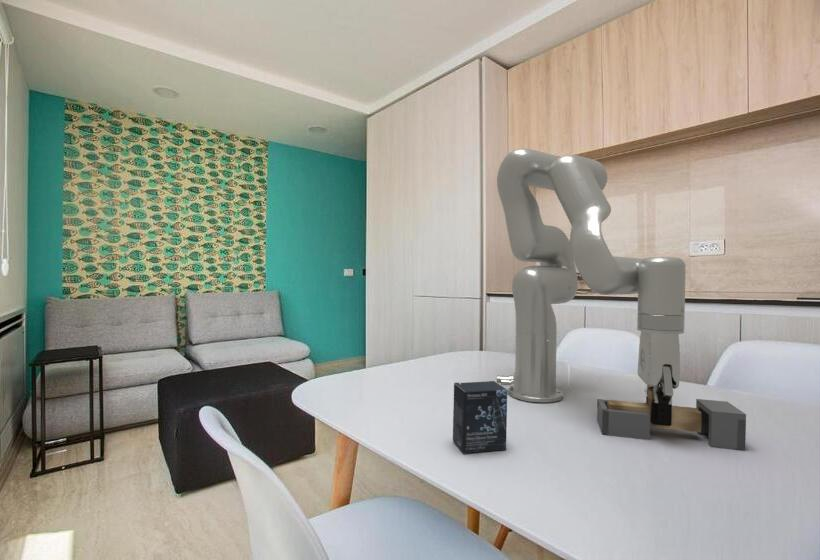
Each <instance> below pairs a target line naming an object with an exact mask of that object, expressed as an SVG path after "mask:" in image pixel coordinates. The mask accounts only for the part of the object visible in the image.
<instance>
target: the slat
mask: <svg viewBox="0 0 820 560" xmlns="http://www.w3.org/2000/svg"><path fill="white" fill-rule="evenodd" d="M660 391H662V390H658V393H659V392H660ZM646 396H647V403H646V402H636V401H626V400H625V401H623V400H617V399H616V400H614V399H606V400H607V409H613V410H624V411H634V412H645V413H649V414H650V428H656V429H658V428H659V429H666V430H676V431H684V432H695V433H697V432H701V412H700V411H699V410H697V409H696V407H689V406H681V405H679V406H678V405H672V423H671V426H663V425H654V424H652V423H651V402H653V388H648V393H646Z"/></svg>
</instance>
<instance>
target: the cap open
mask: <svg viewBox="0 0 820 560" xmlns="http://www.w3.org/2000/svg"><path fill="white" fill-rule="evenodd" d="M607 400H608V399H602V398H597V405H596V406H597V411H596V412H597V413H596V421H597V425H598V426H599V429H601V430H600V432H601V434H602V435H603V436H614V437H623V438H630V439H631V438H632V439H640V440H648V441H649V440H650V438H651V437H650V435H651V427H650V414H649V413H645V412H634V411H624V410H613V409H607Z"/></svg>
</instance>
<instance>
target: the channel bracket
mask: <svg viewBox="0 0 820 560" xmlns="http://www.w3.org/2000/svg"><path fill="white" fill-rule="evenodd" d="M695 400H696V401H695V402H696V404H695V408H696V409H697V410H699V411H700V412H701V432H696V433H697V434H700V435H708V440H707V441H708V442H707V444H708V445H709V446H710V447H712V448H720V449H729V450H736V451H737V450H739V451H746V440H747V439H746V436H747V435H746V434H747V431H746V430H747V414H746V413H745V412H744V411H742V410H741V409H740V408H738V407H736V406H734V405H733V404H731V403H730V402H729V401H727V400H726V401H725V400H714V399H701V398H696V399H695Z"/></svg>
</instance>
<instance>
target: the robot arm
mask: <svg viewBox="0 0 820 560" xmlns="http://www.w3.org/2000/svg"><path fill="white" fill-rule="evenodd" d="M607 183H608V173H607V170H606V167H605V166H604V165H603V163H601V162H600V161H598V160H596V159H592V158H588V157H585V156H582V155H577V154H566V155H562V156H559V155H555V154H552V153H551V154H550V153H547V152H543V151H541V150H540V151H539V150H535V149H530V148H518V149H514V150H512V151H509V153H507V155H505V157H503V160H502V161H501V163H500V164H499V168H498V171H497V176H496V186H497V192H498V197H499V198H500V201H501V205H502V208H503V209H502V210H503V212H504V213H503V214H504V219H505V225H506V229H507V234H508V239H509V246H510V249H511V253H512V255H513V257H515V259H516V260H519V261H521V262H525V263H526V262H529V263H539V265H529V266H525V267H523V268H521V269H519V270H518V271H517V273H516V274H514V277H513V279H512V282H511V283H512V284H511V290H512V295H513V296H512V297H513V302H514V309H515V310H514V311H515V360H514V361H515V363H514V364H515V365H514V366H515V371H514V373H513V374H511V375H509V376H505V375H496V383H498V384H500V385H501V386H509V387H508V394H509V396H511V397H512V398H514V399H517V400H521V401H524V402H532V403H542V404H543V403H554V402H559V401H561V400H562V399H563V392H562V391H561V390H560V389H558V388H557V386H556V385H557V336H558V335H557V329H558V328H557V318H556V315H555V312H554V309H553V306H552V305H557V304H559V305H560V304H565V303H568V302H570V301H572V300H573V299H574V298H575V296H576V295H577V292H578V288H579V282H578V281H579V280H578V274H577V271H578V273H579V275H580V277H581V278H582V281H583V282H584V284H585V285H586V286H587V287H588V288H589V289H590V290H591V291H592V292H594V293H596V294H598V295H604V296H608V295H609V296H611V295H612V296H613V295H614V296H615V295H619V296H620V295H636V294H637V319H636V320H637V326H636V327H637V328H636V329H637V331H639V332H640V335H639V336H640V337H639V346H638V359H637V360H638V361H637V376H638V378H640V379H641V380H642V382H644V384H646V388H647V393H648V388H653V402H651V423H652V424H654V425H663V426H671V423H672V406H673V397H674V390H675V389H678V388H679V386H680V380H681V379H680V377H681V375H680V374H681V351H680V336H679V335H681V334H685V314H686V313H685V311H686V310H685V309H686V308H685V307H686V306H685V305H686V263H685V261H684V260H683V259H682V258H680V257H675V256H673V257H672V256H663V257H662V256H661V257H660V256H659V257H645V258H639V257H638V258H637V257H627V256H626V257H625V256H614V255H613V254H612V253H611V251H610V249H609V247H608V245H607V243H606V241H605V238H604V235H603V234H602V233H603V232H602V223H603V222H605V221H606V220H607V219H608V217H609V216H611V215H610V214H611V212H612V206H611V204H610V203H609V201H608V199H607V198H606V195H605V194H604V192H603V190H604V189H605V187H606V186H607ZM530 187H532V188H539V189H545V190H549V191H554V193H555V195H556V196H557V199H558V201H559V202H560V205H561V207H562V209H563V211H564V213H565V215H566V217H567V219H568V221H569V224H570V226H571V228H570V234H569V238H568V235H567V234H566V233H565V232H564V230H562V229H561V228H559V227H557V226H553V225H548V224H547V225H546V224H544V222H543V220H542V215H541V211H540V207H539V203H538V201H537V199H536V197H535V195H534V194H533V192H532V191H531V190H530ZM658 390H662V391H660V392H659V393H658ZM647 393H646V394H647ZM645 397H646V398H645V403H647V395H646V396H645Z"/></svg>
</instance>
